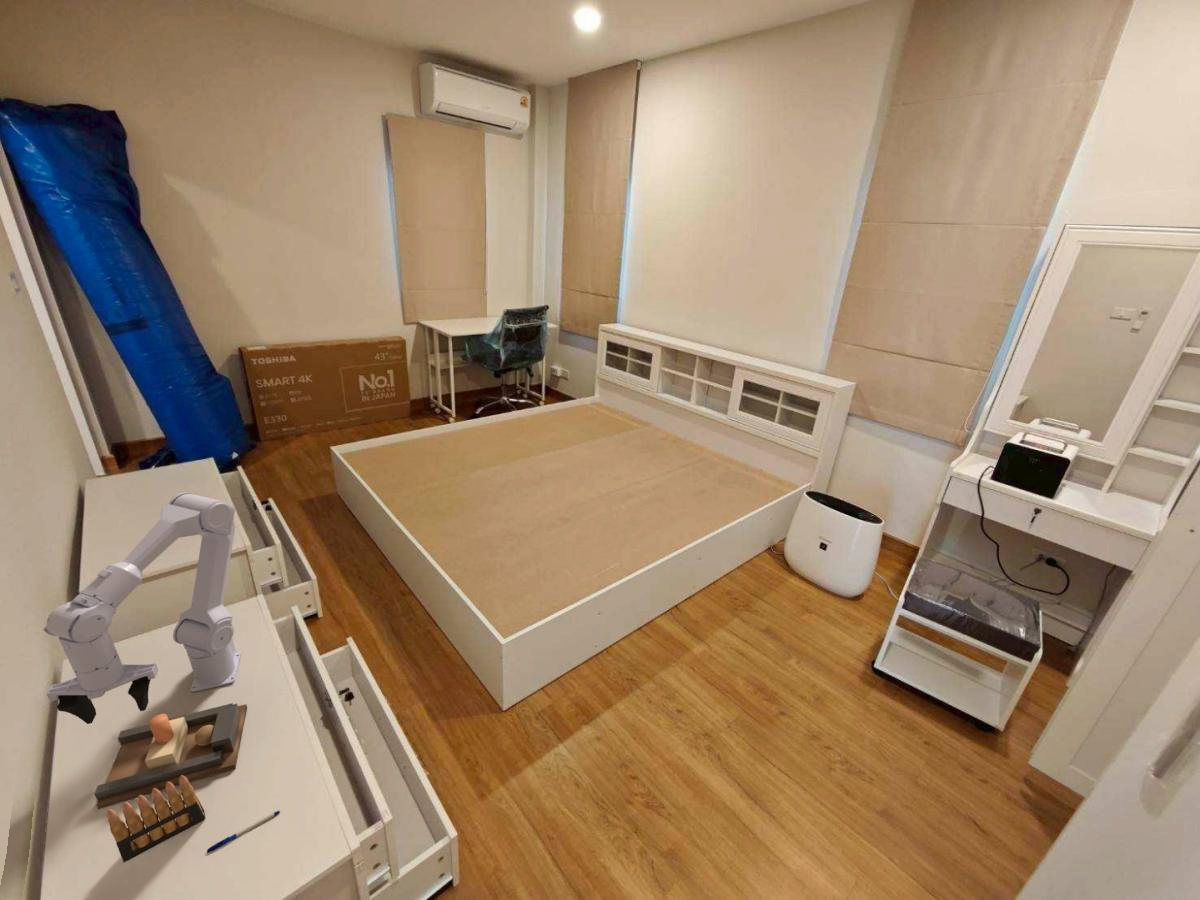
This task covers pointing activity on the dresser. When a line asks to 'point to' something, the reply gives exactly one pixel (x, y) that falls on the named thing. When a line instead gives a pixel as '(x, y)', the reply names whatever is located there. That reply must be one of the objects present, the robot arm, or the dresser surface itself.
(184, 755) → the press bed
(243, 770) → the dresser surface
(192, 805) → the ammunition clip
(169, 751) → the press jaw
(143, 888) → the dresser surface
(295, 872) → the dresser surface
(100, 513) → the dresser surface
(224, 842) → the ballpoint pen
